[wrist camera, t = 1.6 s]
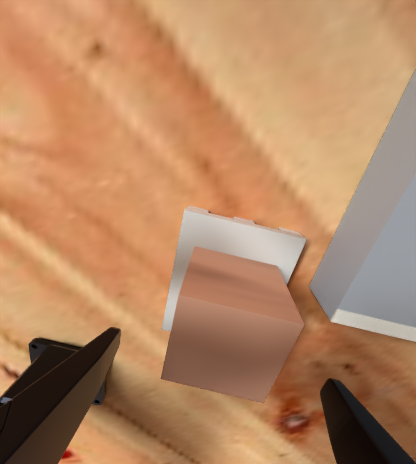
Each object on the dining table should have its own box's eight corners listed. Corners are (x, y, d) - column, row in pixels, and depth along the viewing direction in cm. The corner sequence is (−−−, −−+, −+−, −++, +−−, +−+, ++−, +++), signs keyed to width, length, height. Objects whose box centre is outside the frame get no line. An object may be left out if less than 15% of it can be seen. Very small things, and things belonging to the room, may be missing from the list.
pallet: (254, 336, 16) (270, 431, 10) (166, 315, 16) (135, 400, 10) (298, 231, 13) (354, 288, 7) (188, 204, 13) (160, 242, 7)
